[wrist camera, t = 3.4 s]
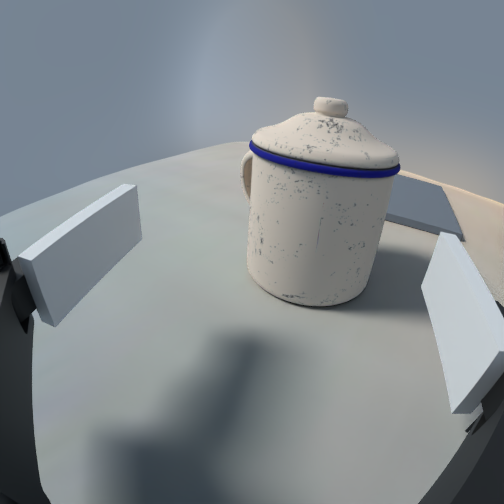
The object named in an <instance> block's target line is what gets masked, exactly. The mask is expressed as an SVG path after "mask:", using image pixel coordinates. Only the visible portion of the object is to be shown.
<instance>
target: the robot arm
mask: <svg viewBox="0 0 504 504" xmlns="http://www.w3.org/2000/svg"><path fill="white" fill-rule="evenodd" d="M141 240H142V232H141V223H140V214H139V204H138V193H137V185H129V184H122V185H121V186H119V187H117V188H116V189H114V190H113V191H111V192H109V193H108V194H106V195H104V196H103V197H101V198H100V199H98V200H97V201H95V202H93V203H92V204H90V205H89V206H87V207H86V208H84V209H83V210H81V211H80V212H78V213H77V214H75V215H74V216H72V217H71V218H69V219H68V220H66V221H65V222H63V223H62V224H61V225H59V226H58V227H56V228H55V229H53V230H52V231H51V232H49V233H48V234H46V235H45V236H44V237H42V238H41V239H40V240H38V241H37V242H36V243H34V244H33V245H32V246H30V247H29V248H28V249H26V250H25V251H24V252H22V253H21V254H20V255H18V257H17V258H16V259H15V260H13V261H11V258H10V255H9V252H8V249H7V246H6V243H5V240H4V239H3V238H0V504H51V503H50V501H49V499H48V498H47V496H46V494H45V493H44V491H43V489H42V486H41V483H40V477H39V470H38V463H37V456H36V447H35V437H34V425H33V408H32V348H33V330H34V319H33V316H32V314H31V313H32V312H33V311H34V310H35V309H36V308H37V311H38V313H39V316H40V318H41V320H42V321H43V322H45V323H47V324H49V325H52V326H54V327H56V326H57V325H58V324H59V323H60V322H61V321H62V320H63V319H64V317H65V316H66V315H67V314H68V313H69V312H70V311H71V310H72V309H73V308H74V307H75V306H76V305H77V304H78V302H79V301H80V300H81V299H82V298H83V297H84V296H85V295H86V294H87V293H88V292H89V291H90V290H91V289H92V288H93V287H94V286H95V285H96V284H97V283H98V282H99V281H100V280H101V279H102V278H103V277H104V276H105V275H106V274H107V273H108V272H109V271H110V270H111V269H112V268H113V267H114V266H115V265H116V264H117V263H118V262H119V261H120V260H121V259H122V258H123V257H124V256H125V255H126V254H127V253H128V252H129V251H130V250H131V249H132V248H133V247H134V246H135V245H137V244H138V243H139V242H140V241H141ZM421 289H422V292H423V295H424V299H425V302H426V305H427V309H428V312H429V315H430V319H431V323H432V326H433V330H434V334H435V338H436V341H437V345H438V349H439V354H440V358H441V362H442V367H443V371H444V376H445V381H446V386H447V391H448V396H449V401H450V407H451V413H452V414H470V413H472V412H473V410H474V409H475V408H476V407H477V406H478V405H479V404H480V402H481V403H482V407H483V412H482V414H481V415H480V416H479V417H478V418H477V419H476V420H475V421H474V422H473V423H472V424H471V425H470V426H469V427H468V428H467V429H466V430H465V431H466V432H469V431H470V432H469V433H468V435H467V436H466V438H465V440H464V441H463V443H462V444H461V446H460V448H459V449H458V451H457V452H456V454H455V455H454V457H453V458H452V460H451V461H450V462H449V464H448V465H447V467H446V468H445V470H444V471H443V472H442V474H441V475H440V476H439V478H438V479H437V480H436V482H435V483H434V484H433V486H432V487H431V488H430V490H429V491H428V492H427V493H426V495H425V496H424V497H423V498H422V499H421V501H420V502H419V503H418V504H504V307H503V306H502V305H501V304H500V303H499V302H498V301H495V300H494V298H493V296H492V295H491V293H490V291H489V289H488V287H487V285H486V284H485V282H484V280H483V278H482V277H481V275H480V273H479V271H478V270H477V268H476V266H475V265H474V263H473V261H472V260H471V258H470V256H469V255H468V253H467V251H466V250H465V248H464V247H463V245H462V244H461V242H460V240H459V239H458V237H457V236H456V235H454V234H449V233H445V232H440V235H439V238H438V241H437V244H436V247H435V250H434V253H433V256H432V258H431V261H430V264H429V267H428V269H427V272H426V275H425V277H424V280H423V283H422V285H421Z"/></svg>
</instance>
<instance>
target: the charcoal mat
mask: <svg viewBox="0 0 504 504" xmlns="http://www.w3.org/2000/svg"><path fill="white" fill-rule="evenodd" d="M385 220H387V221H391V222H395V223H398V224H402V225H406V226H409V227H413V228H417V229H420V230H424V231H427V232H431V233H434V234H438V235H440V232H445V233H449V234H454V235H456V236H457V237H458V239H459V240H460V241H461V238H462V235H463V234H462V232H461V229H460V227H459V224H458V222H457V220H456V217H455V215H454V213H453V210H452V208H451V206H450V204H449V202H448V199H447V197H446V195H445V193H444V191H443V189H442V187H441V186H438V185H434V184H431V183H427V182H424V181H420V180H417V179H413V178H409V177H406V176H402V175H398V174H396V175H395V176H394V181H393V186H392V190H391V195H390V200H389V204H388V208H387V213H386V217H385Z"/></svg>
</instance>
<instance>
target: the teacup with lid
mask: <svg viewBox="0 0 504 504" xmlns="http://www.w3.org/2000/svg"><path fill="white" fill-rule="evenodd" d="M314 110H315V112H310V113H309V112H308V113H301V114H298V115H295V116H293V117H291V118H290V119H288V120H286V121H284V122H282V123H280V124H277V125H272V126H267V127H263V128H261V129H259V130H257V131H256V132H255V133H254V135H253V136H252V140H251V141H250V144H249V147H250V149H251V150H250V151H249V152H248V153H247V154H246V155H245V156H244V158H243V160H242V163H241V169H240V177H241V184H242V189H243V192H244V195H245V197H246V200H247V202H248V203H249V205H250V213H249V231H248V249H247V267H248V270H249V272H250V275H251V276H252V278H253V279H254V280H255V282H256V283H257V284H258V285H259V286H261V287H262V288H263V289H264V290H266V291H267V292H269V293H271V294H272V295H274V296H276V297H278V298H281V299H283V300H286V301H289V302H292V303H297V304H301V305H308V306H331V305H337V304H341V303H344V302H347V301H349V300H351V299H353V298H355V297H356V296H358V295H359V294H360V293H361V292H362V291H363V290H364V288H365V287H366V285H367V283H368V280H369V276H370V273H371V269H372V266H373V262H374V259H375V255H376V252H377V248H378V244H379V241H380V237H381V233H382V229H383V225H384V221H385V217H386V213H387V208H388V204H389V200H390V195H391V190H392V186H393V181H394V176H395V175H396V174H397V173H398V172H399V171H400V164H399V157H398V154H397V153H396V151H395V150H394V149H393V148H391V147H390V146H388V145H386V144H384V143H383V142H381V141H379V140H378V139H377V138H375V137H374V136H373V135H372V134H371V133H370V132H369V131H368V130H367V129H366V128H365V127H364V126H363V125H362V124H361V123H359V122H357V121H355V120H353V119H350V118H347V117H345V116H346V115H347V113H348V104H347V102H346V101H344V100H340V99H334V98H327V97H317V98H316V99H315V101H314Z"/></svg>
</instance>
